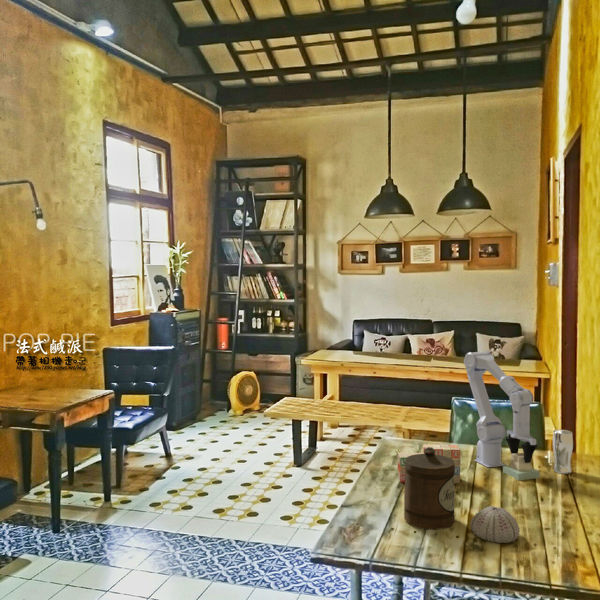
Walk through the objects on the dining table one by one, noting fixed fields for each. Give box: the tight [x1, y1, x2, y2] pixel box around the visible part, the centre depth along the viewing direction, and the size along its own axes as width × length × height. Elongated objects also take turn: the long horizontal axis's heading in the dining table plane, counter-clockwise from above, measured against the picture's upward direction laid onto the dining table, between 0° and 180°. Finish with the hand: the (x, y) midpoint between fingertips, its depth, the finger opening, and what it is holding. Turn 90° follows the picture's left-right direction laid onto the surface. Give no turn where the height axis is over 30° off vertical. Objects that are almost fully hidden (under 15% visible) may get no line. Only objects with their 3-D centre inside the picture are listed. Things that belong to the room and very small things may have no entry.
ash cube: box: [510, 452, 532, 471], centre depth 226 cm, size 5×5×5 cm
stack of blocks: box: [397, 443, 461, 484], centre depth 221 cm, size 21×6×12 cm, turn 88°
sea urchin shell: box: [469, 505, 521, 544], centre depth 173 cm, size 13×14×8 cm
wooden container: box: [403, 447, 456, 530], centre depth 184 cm, size 15×15×22 cm
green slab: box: [502, 465, 540, 481], centre depth 226 cm, size 9×9×3 cm
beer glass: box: [552, 429, 574, 475], centre depth 230 cm, size 7×7×15 cm
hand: (520, 459), depth 226 cm, fingers open, 7 cm apart
